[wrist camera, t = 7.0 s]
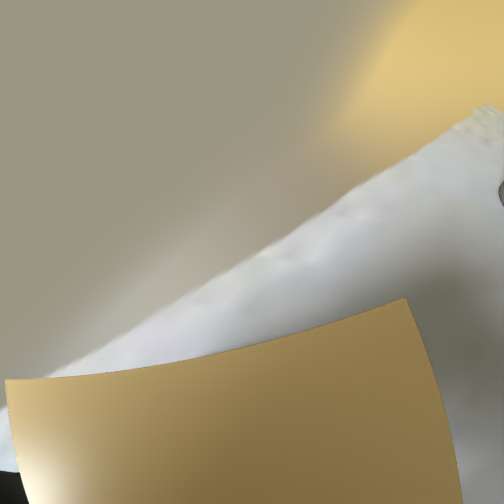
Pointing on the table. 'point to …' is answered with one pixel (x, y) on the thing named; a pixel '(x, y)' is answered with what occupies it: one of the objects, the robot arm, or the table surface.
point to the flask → (502, 193)
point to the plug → (248, 424)
